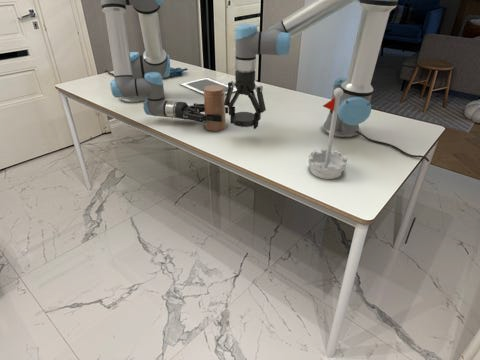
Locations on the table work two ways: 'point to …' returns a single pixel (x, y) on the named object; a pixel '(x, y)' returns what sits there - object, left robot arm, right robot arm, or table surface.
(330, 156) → the flag stand
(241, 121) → the lid
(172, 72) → the submachine gun
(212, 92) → the jar
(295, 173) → the table surface
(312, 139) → the table surface
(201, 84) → the tablet
